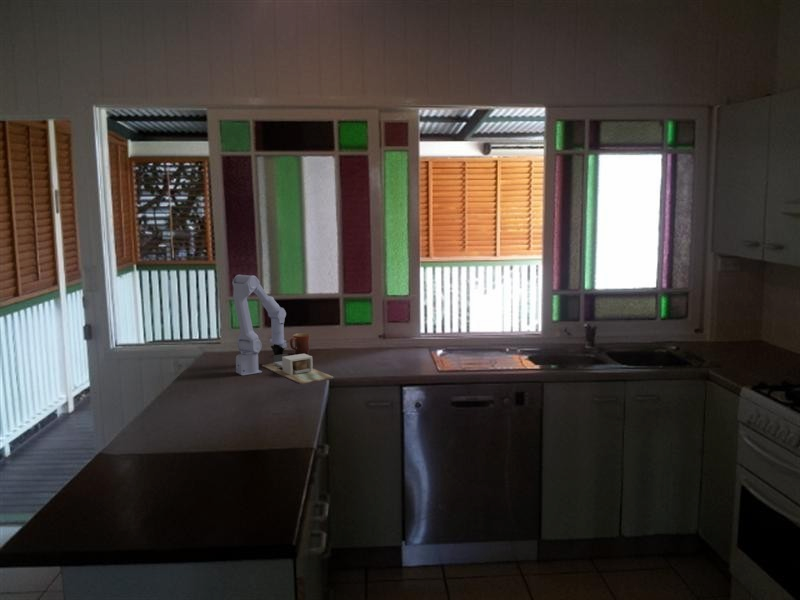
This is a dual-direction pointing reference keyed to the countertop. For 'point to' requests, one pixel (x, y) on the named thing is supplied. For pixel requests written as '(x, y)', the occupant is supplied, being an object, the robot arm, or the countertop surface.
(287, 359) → the tunnel
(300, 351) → the mug
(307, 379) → the beige flat rectangular board
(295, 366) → the walnut block
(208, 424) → the countertop surface
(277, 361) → the sled
